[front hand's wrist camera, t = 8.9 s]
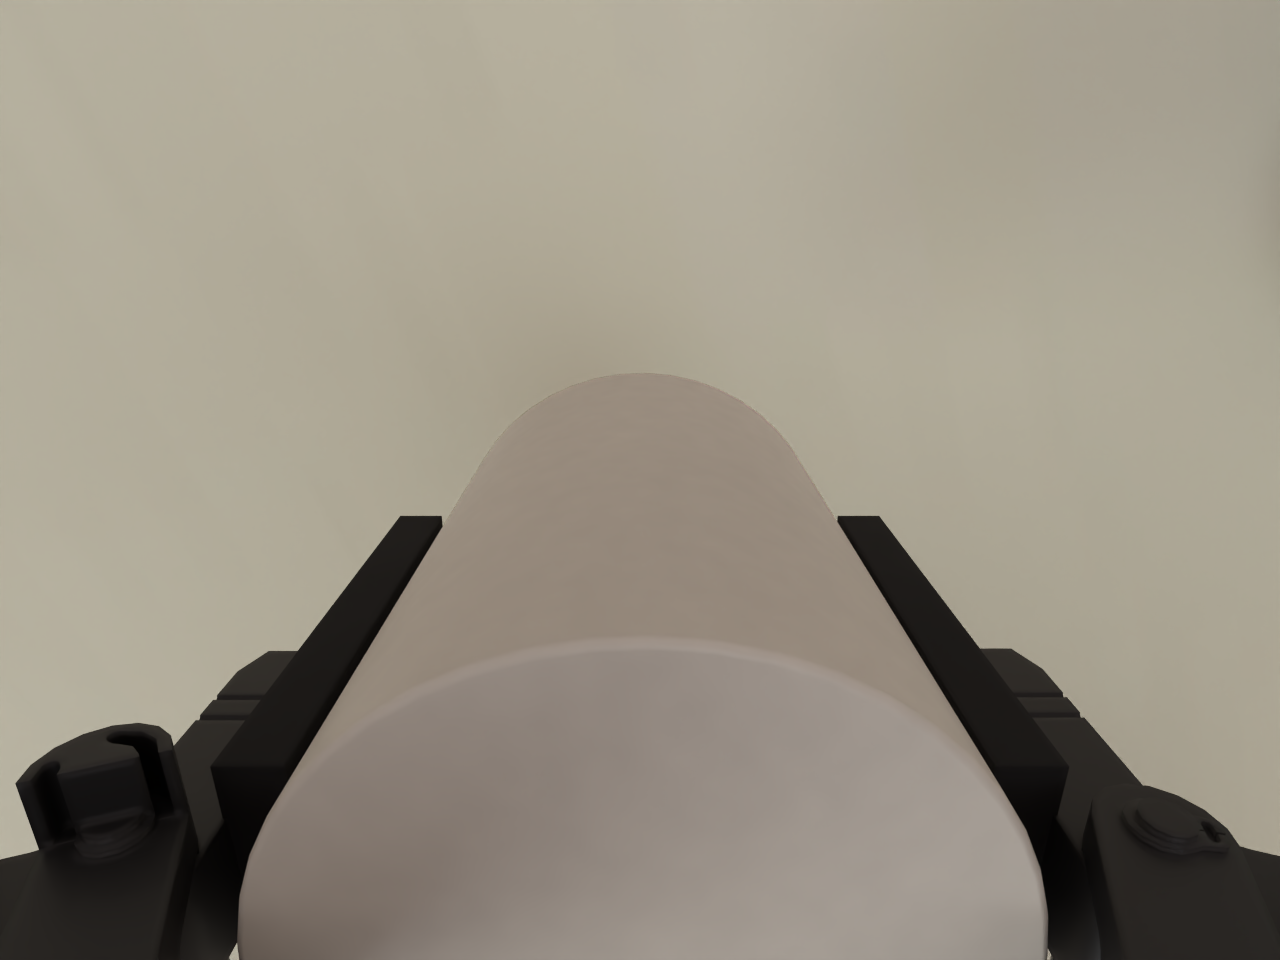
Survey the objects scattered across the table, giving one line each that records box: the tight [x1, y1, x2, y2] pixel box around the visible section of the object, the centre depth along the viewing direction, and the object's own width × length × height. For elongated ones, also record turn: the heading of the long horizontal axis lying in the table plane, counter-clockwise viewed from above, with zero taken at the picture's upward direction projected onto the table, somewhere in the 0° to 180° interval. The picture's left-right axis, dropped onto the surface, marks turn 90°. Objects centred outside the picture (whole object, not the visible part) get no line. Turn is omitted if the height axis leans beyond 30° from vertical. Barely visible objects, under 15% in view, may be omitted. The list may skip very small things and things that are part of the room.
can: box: [237, 373, 1048, 960], centre depth 11 cm, size 7×7×9 cm
